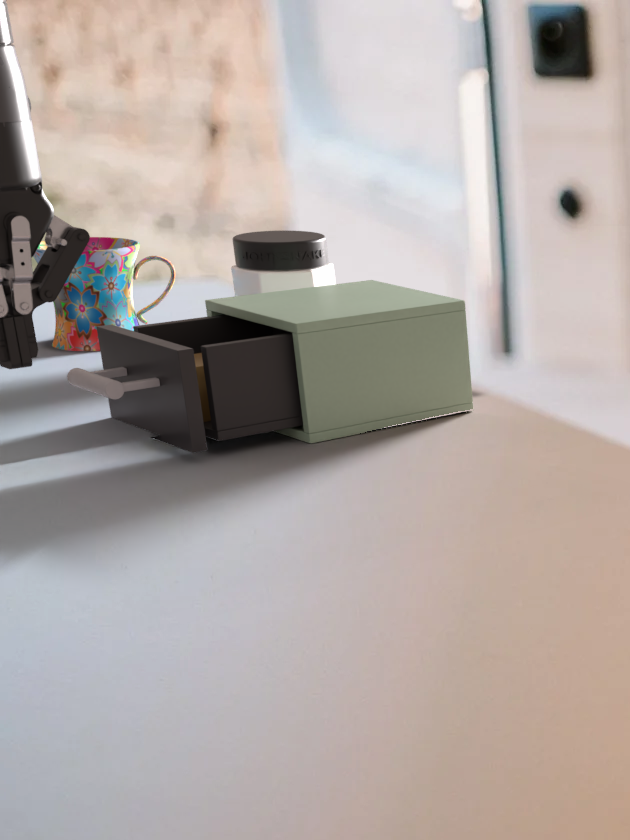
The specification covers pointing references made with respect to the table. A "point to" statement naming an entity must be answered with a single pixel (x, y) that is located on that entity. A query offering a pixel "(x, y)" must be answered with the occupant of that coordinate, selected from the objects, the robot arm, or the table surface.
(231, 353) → the dark drawer with handle
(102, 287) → the mug
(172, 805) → the table surface
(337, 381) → the green drawer cabinet
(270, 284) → the jar
